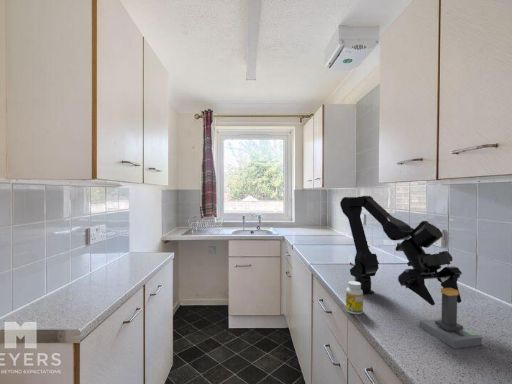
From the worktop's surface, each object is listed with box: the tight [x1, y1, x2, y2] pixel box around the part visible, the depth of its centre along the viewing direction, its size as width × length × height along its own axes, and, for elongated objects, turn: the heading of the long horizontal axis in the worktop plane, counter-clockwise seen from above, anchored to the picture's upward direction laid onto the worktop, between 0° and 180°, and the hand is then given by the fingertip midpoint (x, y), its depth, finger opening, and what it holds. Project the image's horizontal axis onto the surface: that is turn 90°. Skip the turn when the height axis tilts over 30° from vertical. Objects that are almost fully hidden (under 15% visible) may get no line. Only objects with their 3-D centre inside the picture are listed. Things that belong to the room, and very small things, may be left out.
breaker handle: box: [435, 287, 464, 331], centre depth 75 cm, size 4×5×11 cm
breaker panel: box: [419, 317, 483, 349], centre depth 75 cm, size 11×9×2 cm
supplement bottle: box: [345, 280, 364, 315], centre depth 89 cm, size 5×5×10 cm
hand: (446, 303), depth 76 cm, fingers open, 9 cm apart
